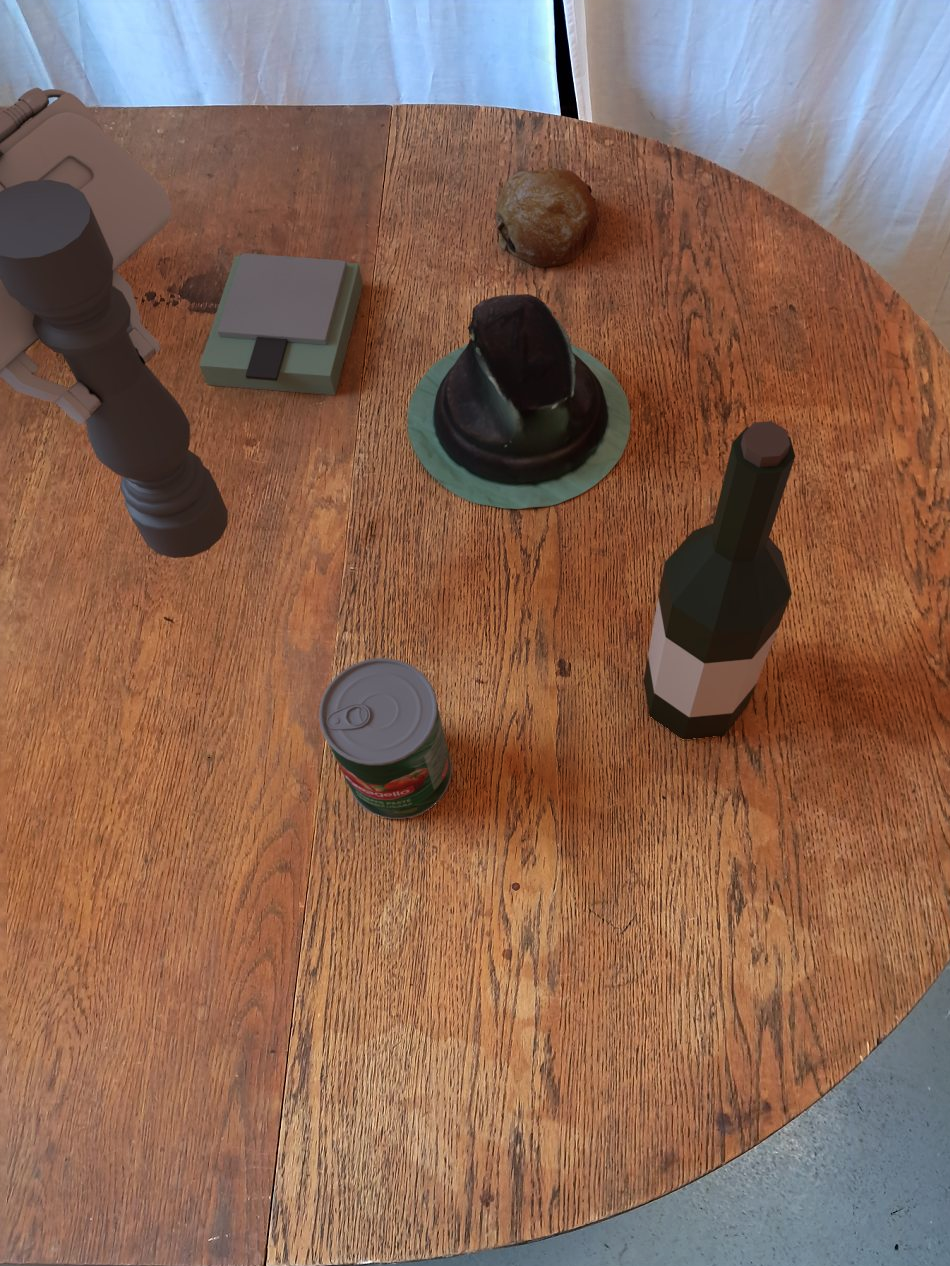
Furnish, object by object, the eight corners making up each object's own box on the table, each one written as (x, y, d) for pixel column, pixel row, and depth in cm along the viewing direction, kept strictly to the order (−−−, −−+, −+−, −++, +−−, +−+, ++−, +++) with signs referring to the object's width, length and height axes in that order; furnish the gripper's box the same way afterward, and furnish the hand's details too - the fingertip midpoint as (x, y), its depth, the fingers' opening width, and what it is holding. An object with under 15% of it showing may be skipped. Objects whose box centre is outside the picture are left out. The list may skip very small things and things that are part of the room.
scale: (204, 394, 95) (193, 369, 92) (242, 275, 102) (233, 248, 99) (333, 404, 95) (326, 379, 92) (363, 284, 101) (357, 257, 98)
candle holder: (124, 518, 74) (-54, 213, 52) (198, 473, 76) (57, 159, 54) (170, 573, 72) (6, 281, 50) (245, 526, 74) (119, 223, 52)
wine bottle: (711, 631, 84) (788, 357, 57) (768, 713, 81) (878, 464, 54) (622, 675, 83) (657, 414, 55) (677, 760, 79) (743, 527, 52)
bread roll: (491, 250, 108) (461, 205, 100) (558, 171, 106) (532, 119, 99) (555, 303, 104) (529, 260, 97) (625, 221, 103) (604, 172, 96)
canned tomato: (439, 714, 81) (423, 645, 71) (462, 805, 78) (449, 747, 68) (339, 738, 80) (309, 672, 70) (358, 832, 77) (330, 776, 67)
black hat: (683, 444, 91) (490, 553, 87) (578, 396, 105) (407, 488, 101) (643, 274, 82) (425, 387, 78) (534, 246, 96) (344, 341, 92)
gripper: (41, 95, 61) (217, 293, 68) (-238, 312, 54) (-12, 510, 61) (66, 44, 56) (253, 263, 63) (-239, 277, 49) (8, 496, 56)
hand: (121, 386), depth 62 cm, fingers closed on candle holder, 4 cm apart
